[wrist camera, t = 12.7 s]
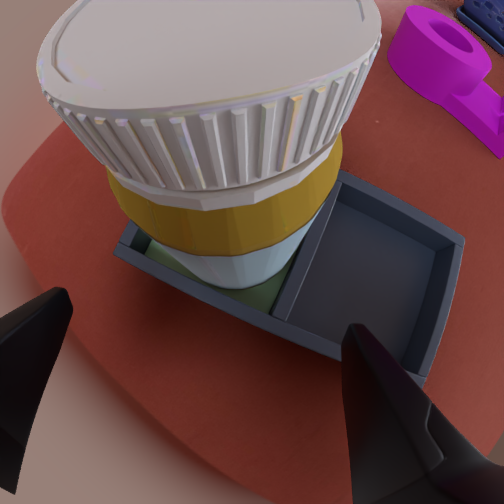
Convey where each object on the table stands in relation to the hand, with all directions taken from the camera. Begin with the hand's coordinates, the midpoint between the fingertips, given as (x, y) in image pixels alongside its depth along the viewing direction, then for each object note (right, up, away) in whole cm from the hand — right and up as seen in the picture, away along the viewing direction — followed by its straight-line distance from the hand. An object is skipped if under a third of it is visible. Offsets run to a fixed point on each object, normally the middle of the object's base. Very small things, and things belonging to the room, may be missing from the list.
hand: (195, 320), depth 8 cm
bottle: (+1, +3, +10) cm, 10 cm away
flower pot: (+43, +41, +19) cm, 63 cm away
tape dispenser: (+23, +19, +14) cm, 33 cm away
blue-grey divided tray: (+5, +2, +10) cm, 11 cm away
